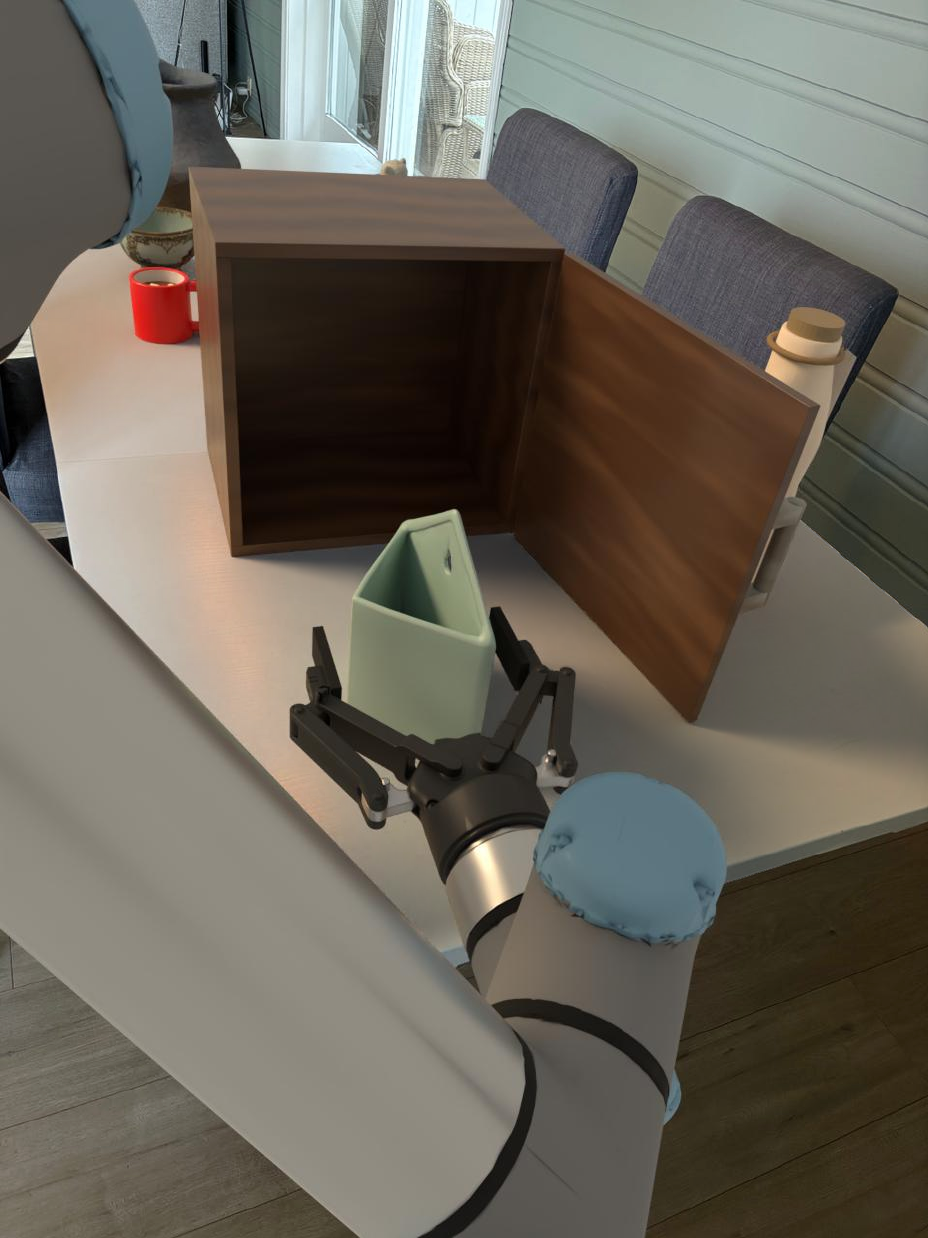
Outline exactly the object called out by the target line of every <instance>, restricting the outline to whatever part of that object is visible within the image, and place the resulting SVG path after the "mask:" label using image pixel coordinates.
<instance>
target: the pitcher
mask: <svg viewBox="0 0 928 1238" xmlns="http://www.w3.org/2000/svg"><path fill="white" fill-rule="evenodd" d="M158 67H159V71H160V76H161V81H162V87H163V91H164V93H165V94H166V96H167V97H168V98H169V100H170V104H171V111H172V123H173V153H172V163H171V169H170V174H169V178H168V182H167V185H166V188H165V191H164V193H163V195H162V197H161V200H160V202H159V203H158V205H157V207H167V208H175V209H180V210H185V211H188V212H191V197H190V182H189V181H190V179H189V167H211V168H234V169H242V164H241V161H240V159H239V157H238V156H237V154H236V153H235V151H234V149H233V147H232V146H231V144H230V143H229V141H228V139H227V137H226V135H225V133H224V131H223V128H222V125H221V123H220V120H219V117H218V114H217V110H216V107H215V102H214V97H213V96H214V93H215V91H216V90H217V88H218V85H219V82H218V80H217V78H215V77H214V76H213V75H211V74H209V73H207V72H203V71H200V70H196V69H192V68H184V67H179V66H176V65H174V64H172V63H169V62H167V61H166V60H164V59H163V58H160V57H159V64H158ZM191 213H192V212H191Z"/></svg>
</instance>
